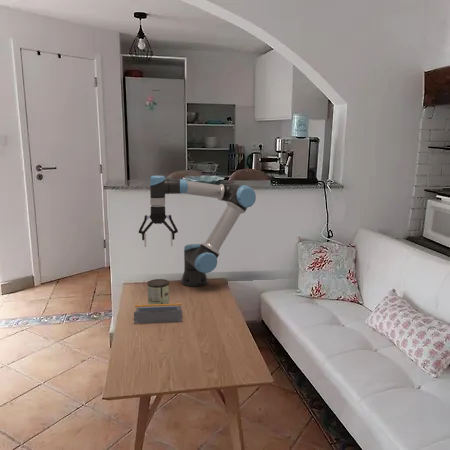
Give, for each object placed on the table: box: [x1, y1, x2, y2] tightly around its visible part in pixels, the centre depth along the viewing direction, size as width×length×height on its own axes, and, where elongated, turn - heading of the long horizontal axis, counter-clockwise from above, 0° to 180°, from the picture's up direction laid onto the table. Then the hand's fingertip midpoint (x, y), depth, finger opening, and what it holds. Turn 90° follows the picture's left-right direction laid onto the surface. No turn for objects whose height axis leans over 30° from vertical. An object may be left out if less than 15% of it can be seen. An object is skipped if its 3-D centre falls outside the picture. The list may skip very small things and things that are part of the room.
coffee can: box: [146, 278, 170, 305], centre depth 206 cm, size 10×10×14 cm
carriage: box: [134, 302, 182, 312], centre depth 197 cm, size 22×3×5 cm, turn 98°
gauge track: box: [133, 304, 183, 324], centre depth 200 cm, size 21×18×5 cm
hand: (158, 246), depth 225 cm, fingers open, 13 cm apart
